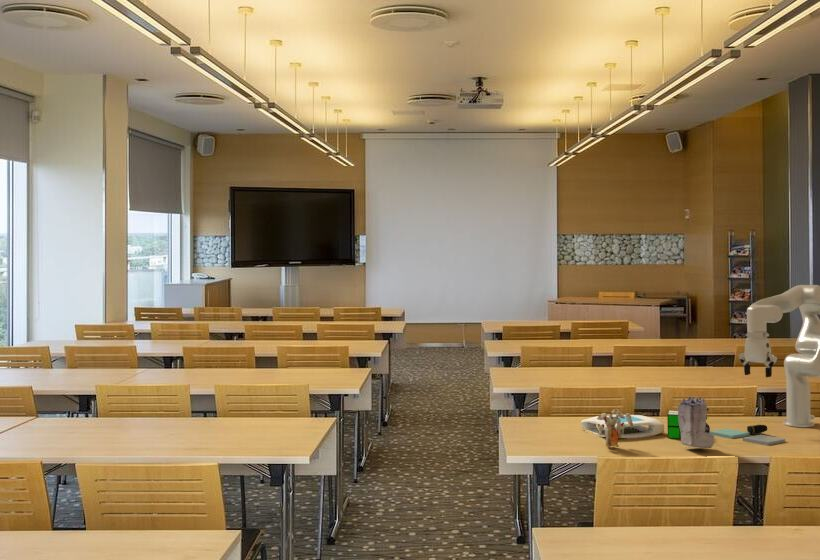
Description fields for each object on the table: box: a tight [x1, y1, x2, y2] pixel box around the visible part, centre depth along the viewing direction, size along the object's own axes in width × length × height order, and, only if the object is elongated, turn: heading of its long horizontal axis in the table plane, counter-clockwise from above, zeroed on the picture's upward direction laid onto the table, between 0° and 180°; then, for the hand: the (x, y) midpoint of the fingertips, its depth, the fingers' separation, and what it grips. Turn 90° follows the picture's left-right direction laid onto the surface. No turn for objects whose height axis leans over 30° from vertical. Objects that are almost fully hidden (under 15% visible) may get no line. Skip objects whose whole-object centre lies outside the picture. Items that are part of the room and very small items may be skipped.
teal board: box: [709, 428, 751, 440], centre depth 339 cm, size 12×11×1 cm
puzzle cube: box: [667, 410, 681, 440], centre depth 335 cm, size 10×10×10 cm
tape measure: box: [746, 424, 768, 436], centre depth 338 cm, size 7×7×4 cm
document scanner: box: [580, 414, 665, 439], centre depth 344 cm, size 21×28×6 cm
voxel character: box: [597, 408, 633, 448], centre depth 314 cm, size 11×10×15 cm
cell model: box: [677, 396, 715, 449], centre depth 313 cm, size 13×11×20 cm
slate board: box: [742, 434, 786, 446], centre depth 325 cm, size 12×11×1 cm
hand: (757, 375), depth 341 cm, fingers open, 9 cm apart
